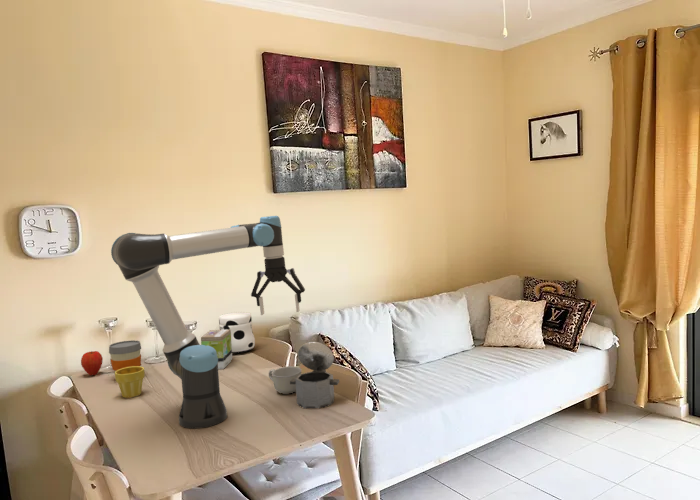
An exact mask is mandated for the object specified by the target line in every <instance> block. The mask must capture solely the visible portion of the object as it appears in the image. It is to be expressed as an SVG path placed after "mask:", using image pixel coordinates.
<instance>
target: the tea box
mask: <svg viewBox="0 0 700 500" xmlns="http://www.w3.org/2000/svg"><path fill="white" fill-rule="evenodd" d="M200 345H205V346H211V347H213V348H214V349H215V350H216V353H217V357H218V370H225V368H226V367H227V366H228V365H229V364H230V363H231V362H232V361H233V354H232V344H231V330H230V329H227V330H220V329H211V330H210V329H209V331H207V332H206V333H204V334H203V335H201V336H200ZM231 360H232V361H231Z"/></svg>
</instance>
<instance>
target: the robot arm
mask: <svg viewBox="0 0 700 500" xmlns="http://www.w3.org/2000/svg"><path fill="white" fill-rule="evenodd" d="M281 222H282V221H281V219H280V216H279V215H269V216H261V217H260V218H259V222H256V223H243V224H237V225H232V226H230V227H227V228H225V227H224V228H219V229H212V230H204V231H197V232H189V233H183V234H182V233H181V234H174V235H167V234H166V233H157V234H154V233H153V234H148V233H147V234H146V233H136V232H126V233H124V234H121V235H120V236H118V237H117V238H116V239H115V241H114V242H113V244H112V245H111V249H110V253H111V258H112V260H113V262H114V263H115V265H116V266H117V265H118V268H119V270H120V271H121V274H122V275H123V278H124V279H125V281H127V282H131V283H132V284H133V286H134V288H135V290H136V292H137V294H138V296H139V298H140V299H141V301H142V303H143V305H144V307H145V309H146V311H147V313H148V315H149V317H150V319H151V321H152V323H153V324H154V326H155V328H156V330H157V332H158V334H159V336H160V338H161V340H162V343H163V344H164V346H163V348H162V352H163V355H164V356H165V358H166V360H167V361H166V362H167V365H168V368H169V369H170V371H171V373H173V374H174V375H175V376H177V377H178V378H179V379H180V380H181V388H182V389H181V390H182V402H181V407H180V410H179V414H178V424H179V425H180V426H181V427H183V428H185V429H202V428H203V429H204V428H208V427H211V426H212V427H213V426H215V425H218V424H220V423H222V422H224V421H225V420H226V419H227V417H228V409H227V407H226V404H225V402H224V400H223V398H222V395H221V392H220V391H221V390H220V376H219V369H218V357H217V353H216V350H215V349H214V348H213V347H211V346H205V345H201V343H200V342H199V340H198V338H197V336H196V335H195V333H192V332H189V330H188V328H187V327H186V325H185V323H184V321H183V319H182V317H181V315H180V313H179V310H178V309H177V306H176V305H175V303H174V301H173V298H172V296H171V295H170V292H169V291H168V289H167V287H166V285H165V283H164V281H163V279H162V276H161V275H160V273H159V268H160V266H163V265H168V264H170V263H171V262H172V261H173V260H179V259H180V260H181V259H186V258H191V257H197V256H204V255H210V254H211V255H212V254H215V253H216V254H217V253H222V252H223V253H224V252H229V251H234V250H242V249H246V248H247V249H248V248H254V247H262V251H263V257H264V260H263V261H264V269H265V270H264V271H262V270H259V271H257V273H256V280H255V283H254V285H253V287H252V291H251V293H250V296H251V298H252V297H253V298H256V305H257V307H259V310H260V315H261V316H263V315H264V314H265V305H264V298H263V296H261V295H262V294H263V293H264V291H265V290H266V288H267V287H268V285H269V284H270V283H271V282H272V283H281V282H283V283H285V284H286V285H287V286H288V287H289V288H290V289H291V290H292V291H293V292H294V300H295V311H296V313H299V312H300V303H302V297H301V296H302V293H304V292H305V291H306V288H305V287H304V286H303V284H302V282H301V281H300V279H299V277H298V276H297V274H296V271H295V268H294V267H292V268H290V269H287V268H286V262H285V261H286V259H285V257H284V255H285V252H284V250H285V249H284V243H283V242H284V241H283V232H282V224H281ZM287 274H289V275H290V276H291V278H292V279H293V281H294V283H295V284H296V285H295V284H294V283H293V282H292V281H291V280H290V279H289V278H288V277H287ZM264 276H265V277H266V280H265V282H264V283H263V284H262V286H261V288H260V289H259V290H258V288H259V286H260V282H261V280H262V278H263V277H264Z"/></svg>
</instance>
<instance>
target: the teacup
mask: <svg viewBox="0 0 700 500" xmlns="http://www.w3.org/2000/svg"><path fill="white" fill-rule="evenodd" d="M300 374H302V368H300V367H299V366H295V365H293V366H292V365H290V366H282V367H279V368H276V369H275V368H272V369H270V370H269V371H268V378H269V379H270V380H271V381H272V382H273V383H272V384H273V387H274V390H275V391H276V392H278V393H280V394H281V393H283V394H282V395H289V394H288V393H292V394H294V393H293V392H295V393H296V384H290V381H291V380H292V379H296V378H297V377H298V376H299V375H300Z"/></svg>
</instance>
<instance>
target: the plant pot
mask: <svg viewBox="0 0 700 500" xmlns="http://www.w3.org/2000/svg"><path fill="white" fill-rule="evenodd" d="M114 377H115V379H114V380H115V382H116V383H117V385H118V388H119V391H120V394H121V396H122V397H123V398H124V399H130V398H136V397H139V396H140V395H141V394H142V388H143V382H144V378H145V377H146V374H145V367H143V366H132V367H126V368H122V369H119V370H117V371H116V372H115V373H114Z"/></svg>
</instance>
